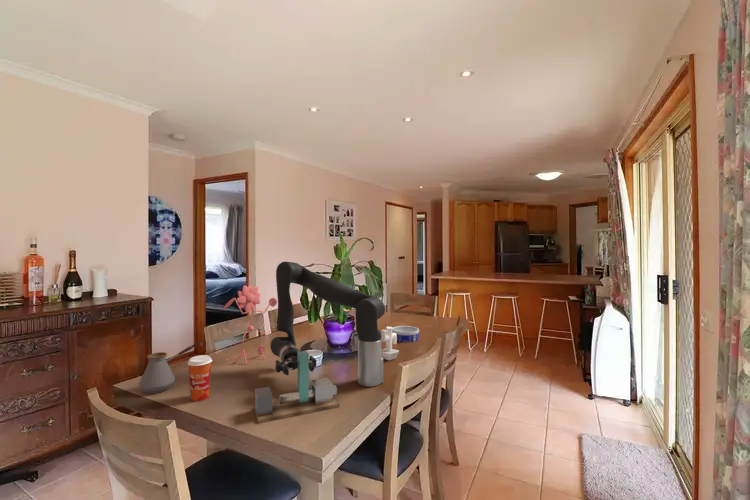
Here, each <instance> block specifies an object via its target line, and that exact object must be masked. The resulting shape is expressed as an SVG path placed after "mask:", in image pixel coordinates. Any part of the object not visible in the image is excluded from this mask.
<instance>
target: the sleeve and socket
mask: <svg viewBox="0 0 750 500" xmlns="http://www.w3.org/2000/svg"><path fill="white" fill-rule="evenodd" d="M333 386H334V383H333V382H332V381H331V380H330V379H329V378H328V377H323V378H317V379H311V381H310V390H311V389H315V405H317V404H322V403H328V402H333V396H334V395H333ZM272 401H273V393H272V390H271V388H270V386H266V387H265V386H264V387H260V388H259V387H258V388H255V389H254V405H255V409H256V413H257V417H260V416H265V415H270V414H272ZM255 409H254V410H255ZM256 413H255V414H256ZM257 417H256V418H257Z"/></svg>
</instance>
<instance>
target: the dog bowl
mask: <svg viewBox="0 0 750 500" xmlns="http://www.w3.org/2000/svg"><path fill="white" fill-rule="evenodd" d="M392 333H396V335H397V341H400V342H399V343H402V342H412V343H414V342H413V341H416V342H418V341H419V340H420V329H419V328H418V327H415V326H410V325H398V326H394V327H393V326H392ZM418 339H419V340H418ZM417 340H418V341H417Z"/></svg>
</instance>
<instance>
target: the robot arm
mask: <svg viewBox="0 0 750 500" xmlns="http://www.w3.org/2000/svg"><path fill="white" fill-rule="evenodd" d="M275 280H276V281H275V282H276V294H277V318H276V330H277V331H278V332H283V333H286V334H287V335H286V336H276V337H273V338H272V340H271V341H270V345H269V346H270V348H269V349H270V351H271V353H272V354H273V355H274V356H275V355H276V356H277V357H279V359H280V360H274V362H275V370H276V373H278V374H279V373H281V372H282V373H283V374H284V375H286V376H289V373H290V372H289V371H294V370H296V369H297V370H298V352H301V351H300V350H299V348H298V347H297V343H296V338H295V334H294V333H295V331H294V321H295V320H294V319H295V309H294V308H295V307H294V305H293V301H292V298H291V292H290V291H291V284H296V285H299V286H302V287H305V288H306V289H309V291H310V292H312V294H313V295H315V296H316V297H317V298H319V299H320V300H324V301H325V302H328V303H330V304H334V305H338V306H345V307H349V308H352V309H354V310H355V329H356V333H357V384H358V385H360V386H363V387H368V388H370V387H371V388H372V387H377V386H379V385H381V384H383V383H384V359H383V358H382V356H381V350H382V339H381V331H382V330H379V329H378V328H379V327H378V320H379V319H381V318H382V317H383V316H384V315H385V313H386V306H385V303H384V302H383V301H382V300H381V299H380V298H379V297H376V296H373V295H370V294H367V293H364V292H360V291H358V290H355V289H353V288H351V287H350V286H348V285H345V284H343V283H341V282H338V281H336V280H335V279H332V278H330V277H327V276H325V275H322V274H319V273H315V272H313V271H311V270H310V269H307V268H306V267H304V266H303V265H301V264H299V263H297V262H292V261H282V262H280V263H279V264H278V265H277V267H276V271H275ZM315 368H317V359H316V358H315V357H314V356H313V355H309V372H314V371H315Z"/></svg>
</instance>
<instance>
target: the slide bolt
mask: <svg viewBox="0 0 750 500" xmlns="http://www.w3.org/2000/svg"><path fill="white" fill-rule="evenodd" d="M309 354H310V353H309V352H308V351H307V350H304V351H303V350H302V351H300V352H298V368H297V391H293V392H289V393H283V394H279V399H278V400H280V405H282V404H287V403H292V402H298V401H299V403H302V402H307V401H309V399H314V398H315V389H311V388H310V389H309V387H310V386H309V383H310V381H309V380H310V379H309V374H310V373H309V372H310V370H309V356H310V355H309ZM335 395H338V388H337V385H335V384H333V396H335Z"/></svg>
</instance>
